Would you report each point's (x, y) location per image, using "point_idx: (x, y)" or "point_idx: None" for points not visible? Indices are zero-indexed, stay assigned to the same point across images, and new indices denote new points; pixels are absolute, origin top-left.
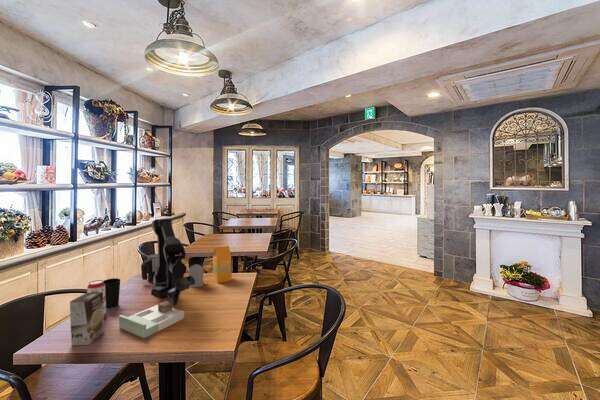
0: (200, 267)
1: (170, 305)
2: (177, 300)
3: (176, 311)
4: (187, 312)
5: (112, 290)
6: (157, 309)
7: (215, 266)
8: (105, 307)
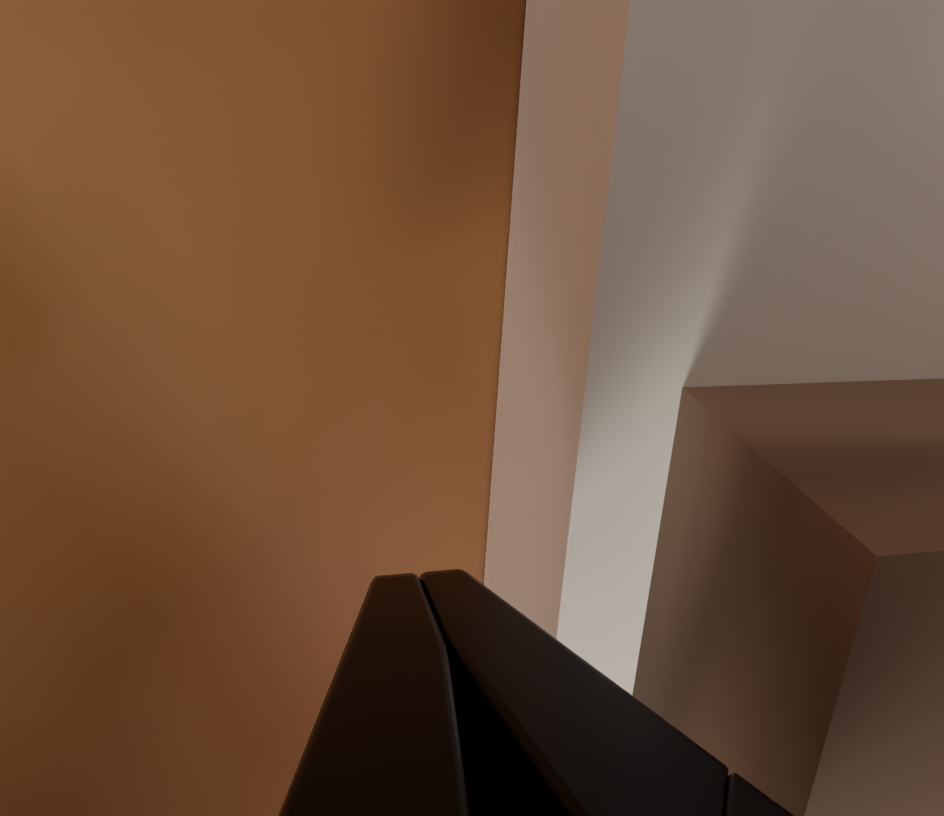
0: None
1: (906, 488)
2: (350, 685)
3: (801, 26)
4: (89, 44)
5: None
6: None
7: None
8: None
